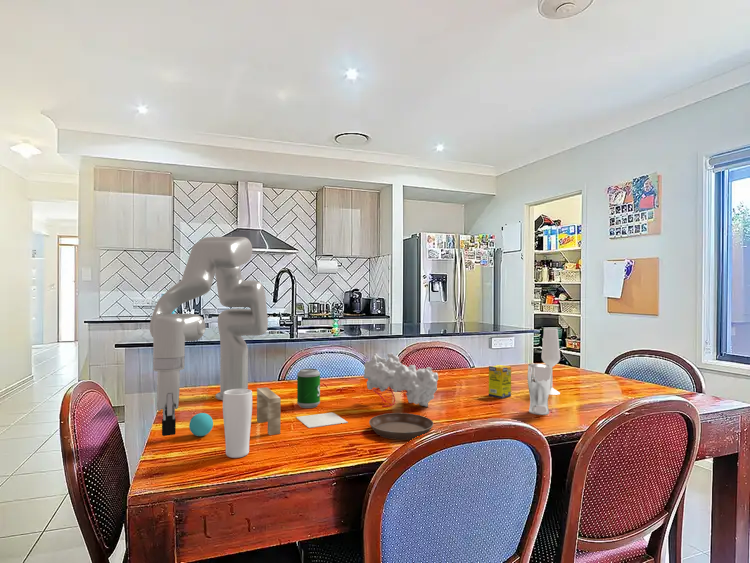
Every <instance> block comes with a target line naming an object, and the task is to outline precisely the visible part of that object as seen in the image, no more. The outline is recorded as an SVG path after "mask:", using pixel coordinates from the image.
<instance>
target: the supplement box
mask: <svg viewBox="0 0 750 563" xmlns="http://www.w3.org/2000/svg"><path fill="white" fill-rule="evenodd" d="M488 396H489V397H493V398H496V399H504V398H508V397H509V398H510V397H511V396H512V366H510V365H504V364H495V365H494V364H493V365H489V366H488Z"/></svg>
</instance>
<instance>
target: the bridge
mask: <svg viewBox="0 0 750 563" xmlns="http://www.w3.org/2000/svg"><path fill="white" fill-rule="evenodd" d="M281 406H282V405H281V397H280V396H279V395H277V394H276V393H275V392H274V391H273V390H271V389H270V388H269V387H267V386H266V387H257V388H256V422H257V423H258V424H261V423H267V435H269V436H272V435H280V434H281V413H282V412H281V409H282V408H281Z"/></svg>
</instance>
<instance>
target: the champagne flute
mask: <svg viewBox="0 0 750 563" xmlns="http://www.w3.org/2000/svg"><path fill="white" fill-rule="evenodd" d="M559 341H560V340H559V332H558V328H556V327H555V328H554V327H553V328H551V327H548V328H546V327H545V328H543V335H542V346H541V347H542V348H541V361H542V362H543V364H547V365H550V376H551V382H550V390H549V395H554V396H555V395H557V396H558V395H560V394H561V392H559V391H558V390H557V389H555V388H554V387H553V368H554V367H555V366H556V365H557V364H559V362H560V361H561V351H560V343H559Z"/></svg>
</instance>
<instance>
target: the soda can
mask: <svg viewBox="0 0 750 563" xmlns="http://www.w3.org/2000/svg"><path fill="white" fill-rule="evenodd" d="M296 378H297V380H296V384H297V386H296V388H297V389H296V390H297V391H296V398H297V399H296V400H297V401H296V402H297V406H299V407H300V408H301V409H313V408H316V407H318V405H320V403H321V372H320V371H319V370H318V368H317V369H316V368H301V369H300V370H299V371H298V372H297V377H296Z"/></svg>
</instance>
